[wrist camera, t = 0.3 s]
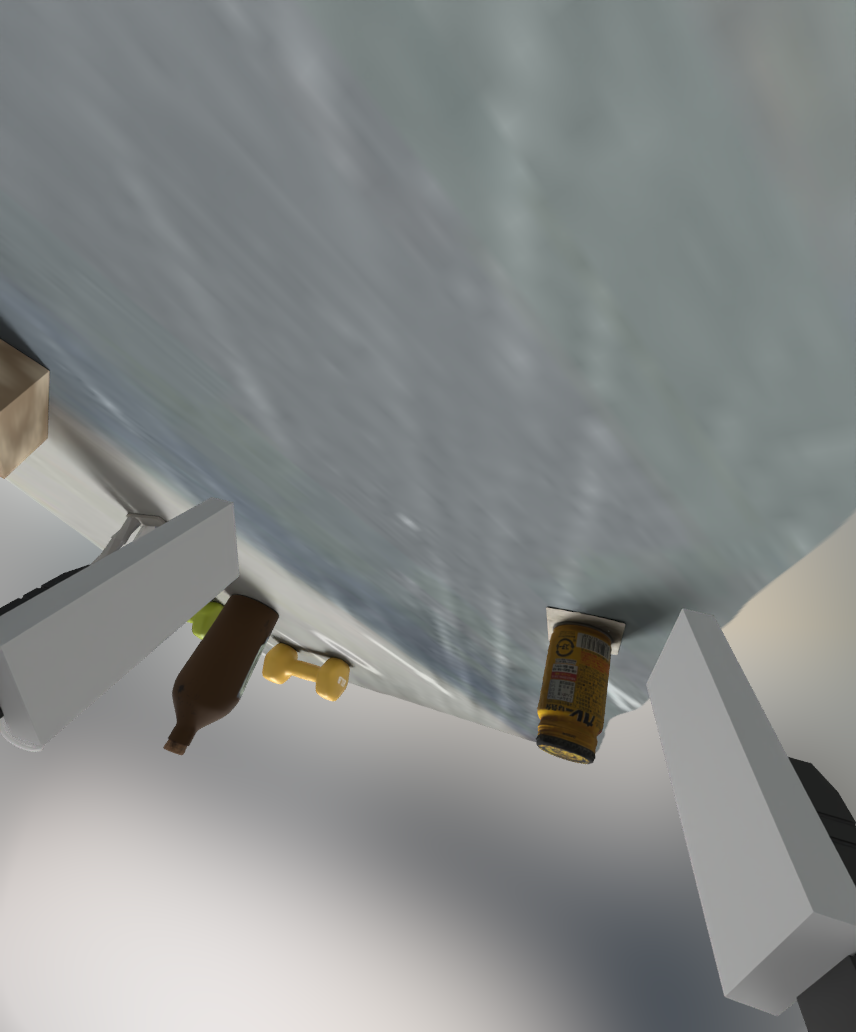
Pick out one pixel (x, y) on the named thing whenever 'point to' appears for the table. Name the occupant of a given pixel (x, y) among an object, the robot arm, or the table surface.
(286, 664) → the dumbbell
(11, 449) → the oak block
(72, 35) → the table surface
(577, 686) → the condiment
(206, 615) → the dumbbell
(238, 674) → the olive oil
